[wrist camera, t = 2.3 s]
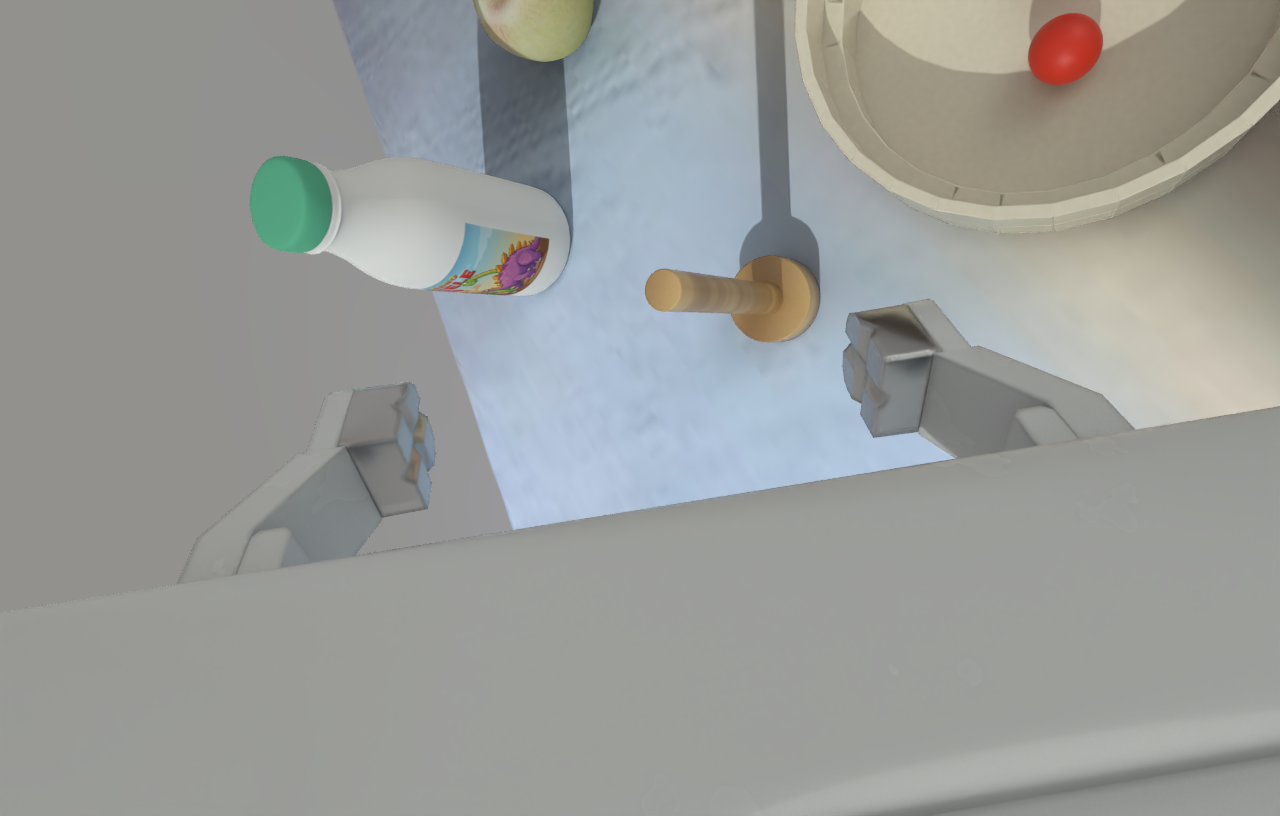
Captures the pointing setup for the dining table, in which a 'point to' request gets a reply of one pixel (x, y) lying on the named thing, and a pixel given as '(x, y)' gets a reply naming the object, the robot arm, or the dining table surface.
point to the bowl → (1035, 101)
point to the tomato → (1065, 49)
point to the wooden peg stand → (744, 296)
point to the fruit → (536, 26)
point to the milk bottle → (415, 223)
